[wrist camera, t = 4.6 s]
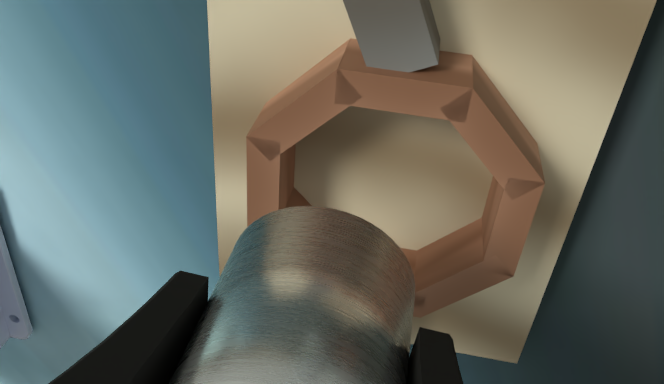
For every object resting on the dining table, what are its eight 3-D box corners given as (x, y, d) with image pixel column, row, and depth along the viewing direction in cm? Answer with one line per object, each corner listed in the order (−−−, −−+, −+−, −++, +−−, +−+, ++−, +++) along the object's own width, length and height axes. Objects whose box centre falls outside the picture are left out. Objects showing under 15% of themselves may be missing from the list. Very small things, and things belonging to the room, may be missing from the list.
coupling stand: (514, 340, 25) (521, 411, 22) (230, 288, 26) (202, 349, 23) (670, -81, 16) (714, -48, 13) (216, -132, 17) (168, -111, 14)
